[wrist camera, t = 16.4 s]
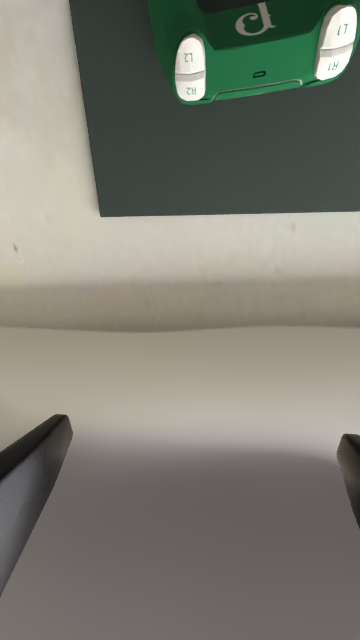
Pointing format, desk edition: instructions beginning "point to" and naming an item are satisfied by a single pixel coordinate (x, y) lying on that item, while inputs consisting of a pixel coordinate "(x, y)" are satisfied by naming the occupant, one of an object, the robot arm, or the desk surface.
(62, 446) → the robot arm
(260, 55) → the gaming controller
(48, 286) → the desk surface
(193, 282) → the desk surface
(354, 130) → the mat
